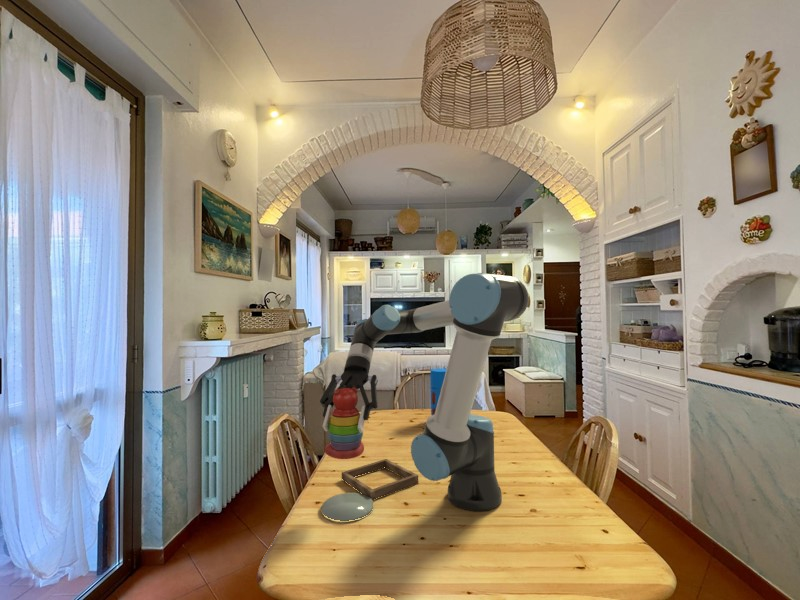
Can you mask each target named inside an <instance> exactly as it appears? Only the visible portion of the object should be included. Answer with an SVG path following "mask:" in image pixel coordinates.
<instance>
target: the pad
mask: <svg viewBox="0 0 800 600" xmlns="http://www.w3.org/2000/svg"><path fill="white" fill-rule="evenodd" d="M372 509H373V510H374V500H372V499H371V498H370V497H369V496H367V495H364V494H361V493H359V492H344V493H339V494H335V495H332V496H331V497H329V498H327V499H326V500H325V501H324V502H323V503H322V504H321V514H322V513H323V514H324V515H325V516H327V517H328V518H331V519H334V520H340V521H349V520H355V519H358V518H362V517H364V516H366V515H368V514H369V513H370V512H371V511H372V512H373V510H372ZM372 512H371V513H372ZM371 513H370V514H371ZM370 514H369V515H370ZM369 515H368V516H369Z"/></svg>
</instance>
